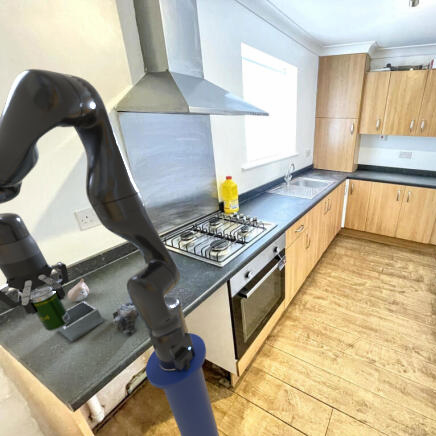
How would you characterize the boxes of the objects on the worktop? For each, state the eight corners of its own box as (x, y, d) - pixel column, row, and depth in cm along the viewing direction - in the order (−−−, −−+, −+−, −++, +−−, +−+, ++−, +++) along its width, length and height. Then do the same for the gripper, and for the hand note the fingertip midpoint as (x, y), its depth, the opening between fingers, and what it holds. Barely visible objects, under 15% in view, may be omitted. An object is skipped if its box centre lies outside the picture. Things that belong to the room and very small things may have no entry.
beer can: (73, 314, 71) (57, 283, 66) (67, 327, 67) (49, 295, 62) (50, 320, 69) (32, 289, 64) (42, 334, 65) (21, 302, 60)
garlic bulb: (92, 298, 94) (84, 283, 90) (71, 307, 90) (62, 291, 86) (90, 290, 98) (83, 275, 95) (70, 298, 94) (62, 282, 91)
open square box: (103, 321, 83) (97, 308, 81) (72, 341, 76) (65, 328, 73) (89, 312, 87) (83, 300, 85) (58, 331, 80) (51, 318, 77)
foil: (161, 296, 90) (128, 305, 75) (154, 325, 89) (119, 339, 74) (136, 290, 92) (99, 297, 78) (129, 318, 91) (90, 331, 76)
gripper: (-21, 275, 51) (17, 329, 58) (61, 244, 62) (85, 293, 69) (-32, 265, 54) (5, 319, 61) (48, 238, 65) (72, 285, 72)
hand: (47, 305), depth 65 cm, fingers closed on beer can, 5 cm apart
